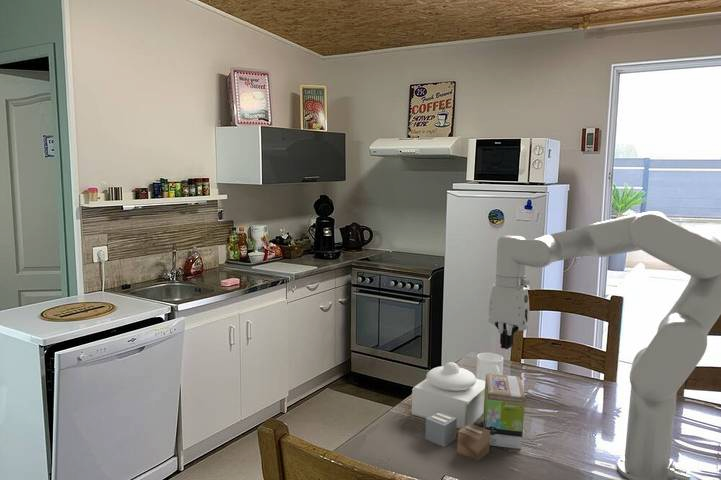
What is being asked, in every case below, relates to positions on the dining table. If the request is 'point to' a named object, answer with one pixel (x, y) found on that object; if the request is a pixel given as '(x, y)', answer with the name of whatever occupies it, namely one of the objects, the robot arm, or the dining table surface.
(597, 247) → the robot arm
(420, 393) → the butter dish
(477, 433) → the walnut marked block
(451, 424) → the slate marked block
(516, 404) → the tea box
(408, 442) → the dining table surface
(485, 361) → the mug
